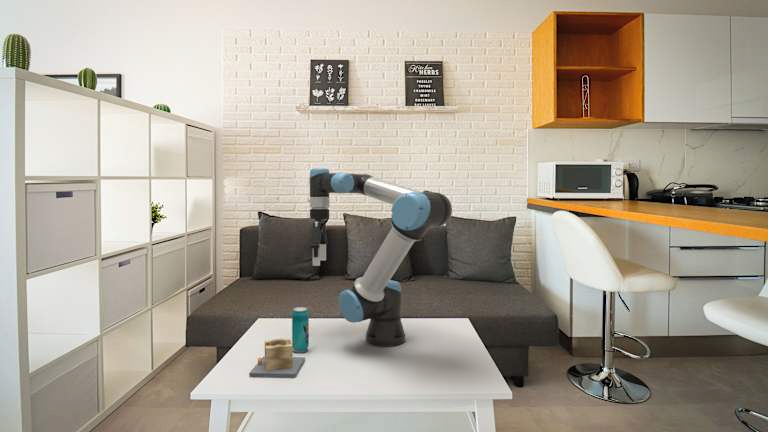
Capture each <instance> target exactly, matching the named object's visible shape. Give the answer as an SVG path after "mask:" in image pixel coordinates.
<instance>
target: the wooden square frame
mask: <svg viewBox="0 0 768 432" xmlns="http://www.w3.org/2000/svg"><path fill="white" fill-rule="evenodd" d="M275 345H278V346H275ZM293 352H294V350H293V346H292V341H291V338H290V337H289V338H278V339H277V338H275V339H265V340H264V357H265V366H266V371H270V370H279V369H288V368H293V357H294V356H293V354H294V353H293Z"/></svg>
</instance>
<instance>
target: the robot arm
mask: <svg viewBox="0 0 768 432" xmlns="http://www.w3.org/2000/svg"><path fill="white" fill-rule="evenodd" d="M309 171H310V172H309V199H308V203H309V208H310V210H309V218H310V219H311V220H313V219H315V220H314V221H313V222H312V235H311V244H310V245H309V246H310V249H312V267H313V266H315V267H320V266H321V261H327V245H328V244H329V240H328V239H327V238H328V237H327V236H328V235H327V227H326V226H327V225H326V220H327V219H329V218H330V209H329V208H330V194H359V195H363V196H365V197H370V198H371V199H372V198H373V199H376V200H378V201H380V202H385V203H387V204H389V205H392V206H391V210H390V212H391V215H390V216H391V220H390V225H391V229H390V231H389V232H388V234H387V236H386V238H385V239H384V240H383V242H382V243H381V246H380V248H379V249H378V251H377V252H376V253H375V256H374V257H373V259H372V261H371V262H370V264H369V266H368V267H367V269H366V271H365V272H364V274H363V276H360V277H357V278H356V279H355V281H354V282H353V283H352V285H351V287H350V288H349V289H345V290H343V291H341V292H340V294H339V296H338V300H337V301H338V307H339V312H340V314H341V315H342V317H343V318H344V319H345V320H346V322H349V323H352V324H354V323H361V322H363V321H366V320H369V323H368V326H367V330H366V332H365V341H366V343H367V344H369V345H372V346H377V347H394V346H398V345H399V346H400V345H402V344H404V343H405V342H406V332H405V329H404V327H403V326H404V325H403V323H402V285H401V283H400V282H399V281H396V280H392V278H393V275H394V274H395V273H396V272H397V270H398V269H399V266H401V264H402V262H403V261H404V259H405V257H406V256H407V255H408V252H409V251H410V249H411V248H412V246H413V245H414V243H415V242H419V241H420V242H421V241H422V239H423V237H424V236H425V235H426V233H427V232H428V230H429V229H431V228H440V227H442V226H443V225H445V224H447V222H449V220H450V219H451V216H452V213H453V205H452V202H451V201H450V199H449V198H448V196H446V195H445V194H442V193H440V192H436V191H435V192H433V191H430V190H423V191H419V190H418V189H417V190H416V189H413V188H410V187H405V186H403V185H399V184H396V183H393V182H390V181H386V180H383V179H381V178H380V179H379V178H377V177H374V175H372V174H366V173H349V172H331V173H330V169H329V168H322V167H318V168H317V167H315V168H310V170H309Z"/></svg>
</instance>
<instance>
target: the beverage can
mask: <svg viewBox="0 0 768 432" xmlns="http://www.w3.org/2000/svg"><path fill="white" fill-rule="evenodd" d="M309 315H310V313H309V311H308V307H305V306H298V307H293V308H292V313H291V334H292V335H291V339H292V341H291V343H292V346H293V352H294V353H296V354H298V353H299V354H301V353H302V354H303V353H306V352H307V351H308V349H309V344H310V343H309V342H310V341H309V340H310V339H309V334H310V332H309V330H310V327H309V326H310V324H309V322H310V321H309V319H310V318H309Z"/></svg>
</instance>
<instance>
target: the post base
mask: <svg viewBox="0 0 768 432" xmlns="http://www.w3.org/2000/svg"><path fill="white" fill-rule="evenodd" d="M275 346H278V345H275ZM305 362H306V357H305V356H304V357H302V356H299V357H298V356H293V368H288V369H279V370H270V371H266V366H265V356H262V357H258V358H257V363H256V364H255V366H253V368H252V369H251V370H250V371H249V373H248V375H249V378H277V379H278V378H283V379H284V378H285V379H286V378H287V379H289V378H290V379H295V378H296V377H297V375H298V374H299V372H300V370H301V369H302V367H303V365H304V364H305Z"/></svg>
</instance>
